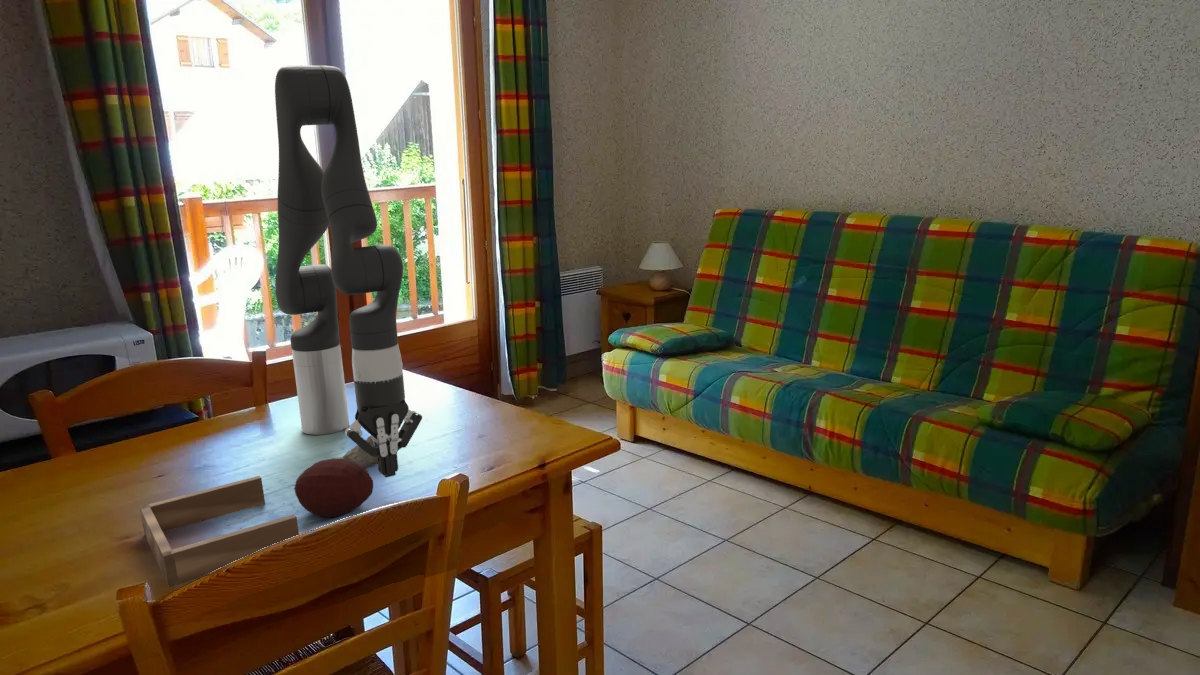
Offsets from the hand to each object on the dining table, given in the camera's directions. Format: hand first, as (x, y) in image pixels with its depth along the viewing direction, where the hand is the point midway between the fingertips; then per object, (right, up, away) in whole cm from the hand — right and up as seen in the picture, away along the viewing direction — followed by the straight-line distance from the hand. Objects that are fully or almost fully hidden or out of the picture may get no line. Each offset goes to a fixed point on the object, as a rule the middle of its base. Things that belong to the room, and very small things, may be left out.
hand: (388, 475), depth 132 cm
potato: (-7, -5, -4) cm, 10 cm away
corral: (-21, -7, -12) cm, 25 cm away
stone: (-7, -1, +13) cm, 15 cm away
